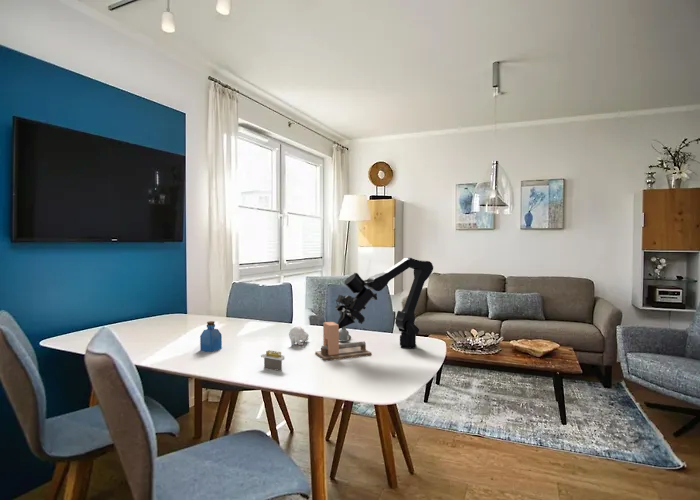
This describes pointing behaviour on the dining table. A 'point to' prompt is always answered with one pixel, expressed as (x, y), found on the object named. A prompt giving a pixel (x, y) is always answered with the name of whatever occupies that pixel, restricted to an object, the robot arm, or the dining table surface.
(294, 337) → the white lumpy figurine
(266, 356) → the platform
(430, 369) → the dining table surface
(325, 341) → the peach rectangular block
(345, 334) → the reed diffuser
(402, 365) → the dining table surface
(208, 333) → the perfume bottle
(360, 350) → the pipe rig
